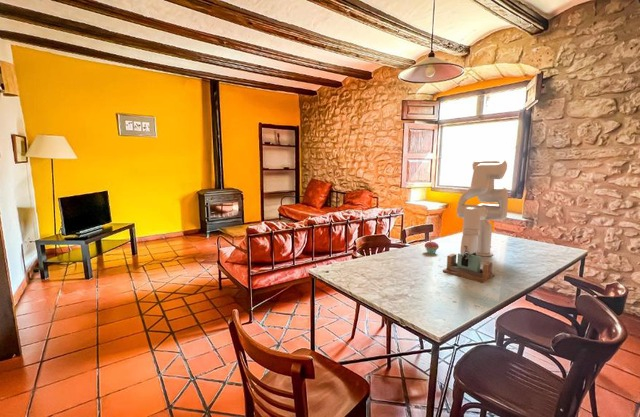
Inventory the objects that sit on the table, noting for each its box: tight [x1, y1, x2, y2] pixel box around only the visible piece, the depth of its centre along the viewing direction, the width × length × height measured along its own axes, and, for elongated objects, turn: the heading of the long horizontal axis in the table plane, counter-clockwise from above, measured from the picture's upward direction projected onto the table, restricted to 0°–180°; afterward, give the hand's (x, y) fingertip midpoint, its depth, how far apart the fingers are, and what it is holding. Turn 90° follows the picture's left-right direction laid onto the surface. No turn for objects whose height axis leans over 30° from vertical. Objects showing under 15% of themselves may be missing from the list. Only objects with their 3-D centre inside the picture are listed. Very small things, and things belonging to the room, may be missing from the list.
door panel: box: [456, 252, 482, 273], centre depth 153 cm, size 4×10×9 cm, turn 41°
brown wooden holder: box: [442, 253, 495, 284], centre depth 154 cm, size 14×20×8 cm
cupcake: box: [424, 235, 440, 255], centre depth 190 cm, size 9×8×12 cm
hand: (468, 263), depth 153 cm, fingers open, 9 cm apart
